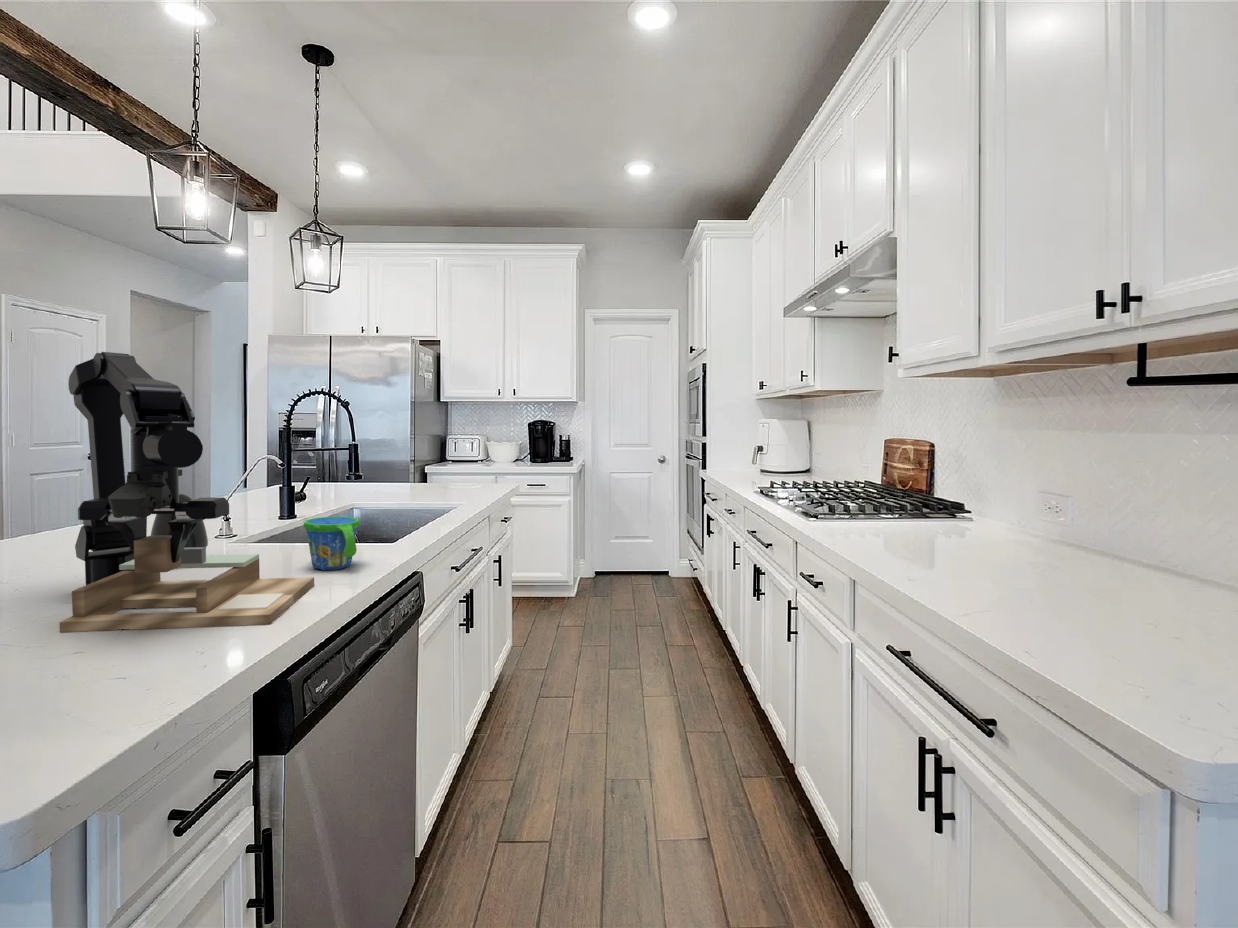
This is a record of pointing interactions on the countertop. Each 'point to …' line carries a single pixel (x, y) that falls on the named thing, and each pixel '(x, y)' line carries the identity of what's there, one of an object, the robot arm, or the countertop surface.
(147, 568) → the walnut block
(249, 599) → the cream pad
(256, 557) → the sliding cover
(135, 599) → the puzzle board
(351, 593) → the countertop surface
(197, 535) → the dark grey rounded dome
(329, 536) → the snack cup
